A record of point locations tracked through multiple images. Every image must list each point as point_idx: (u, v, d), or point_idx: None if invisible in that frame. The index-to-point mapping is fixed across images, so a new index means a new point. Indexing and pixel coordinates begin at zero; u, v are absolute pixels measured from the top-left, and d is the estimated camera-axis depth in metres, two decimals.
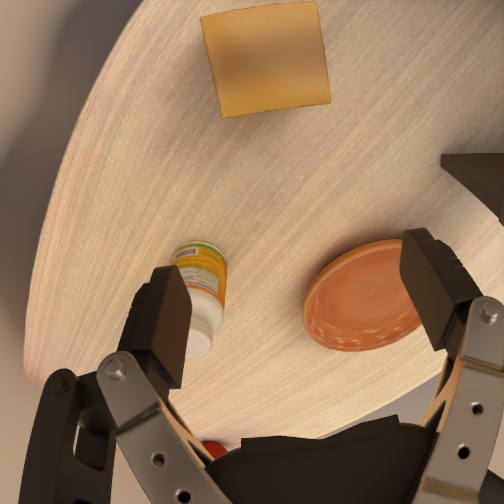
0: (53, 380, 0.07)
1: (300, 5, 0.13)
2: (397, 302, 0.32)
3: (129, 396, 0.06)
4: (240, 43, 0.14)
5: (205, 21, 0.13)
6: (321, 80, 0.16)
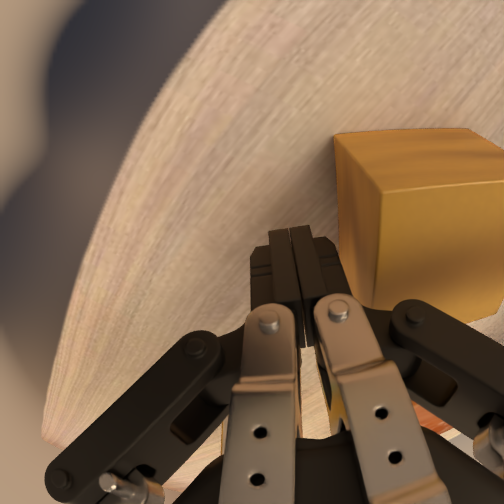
0: (193, 341, 0.07)
1: None
2: None
3: (268, 354, 0.07)
4: (434, 250, 0.08)
5: (389, 202, 0.07)
6: (501, 291, 0.09)
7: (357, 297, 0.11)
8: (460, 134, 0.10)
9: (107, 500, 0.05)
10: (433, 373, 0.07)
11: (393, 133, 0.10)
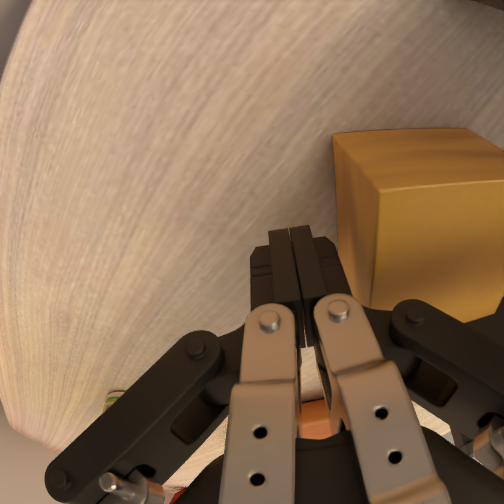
0: (193, 341, 0.07)
1: None
2: None
3: (268, 354, 0.07)
4: (432, 249, 0.08)
5: (387, 201, 0.07)
6: (499, 291, 0.09)
7: (355, 296, 0.11)
8: (459, 134, 0.10)
9: (107, 500, 0.05)
10: (433, 373, 0.07)
11: (392, 133, 0.10)
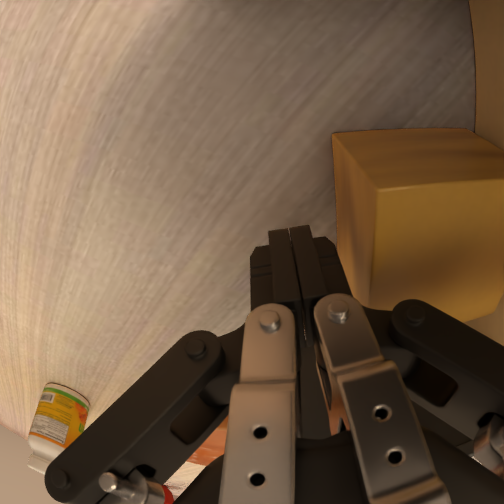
0: (193, 341, 0.07)
1: None
2: None
3: (269, 354, 0.07)
4: (431, 248, 0.08)
5: (385, 200, 0.07)
6: (498, 290, 0.09)
7: (354, 295, 0.11)
8: (458, 134, 0.10)
9: (107, 500, 0.05)
10: (433, 373, 0.07)
11: (391, 132, 0.10)
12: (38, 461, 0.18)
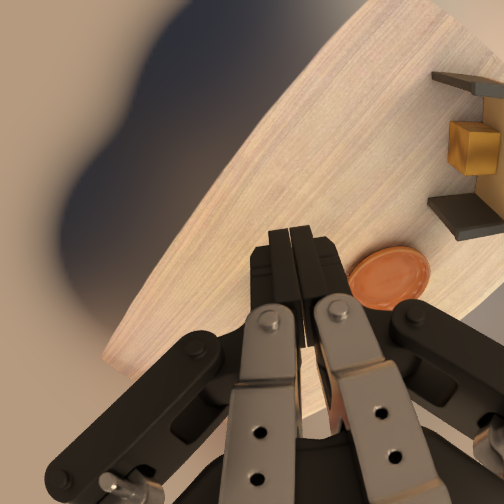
0: (193, 340, 0.07)
1: (496, 134, 0.30)
2: (400, 285, 0.51)
3: (268, 354, 0.07)
4: (478, 146, 0.31)
5: (470, 134, 0.31)
6: (495, 165, 0.33)
7: (460, 163, 0.35)
8: (479, 123, 0.33)
9: (107, 500, 0.05)
10: (433, 373, 0.07)
11: (463, 122, 0.34)
12: None
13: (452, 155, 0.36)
